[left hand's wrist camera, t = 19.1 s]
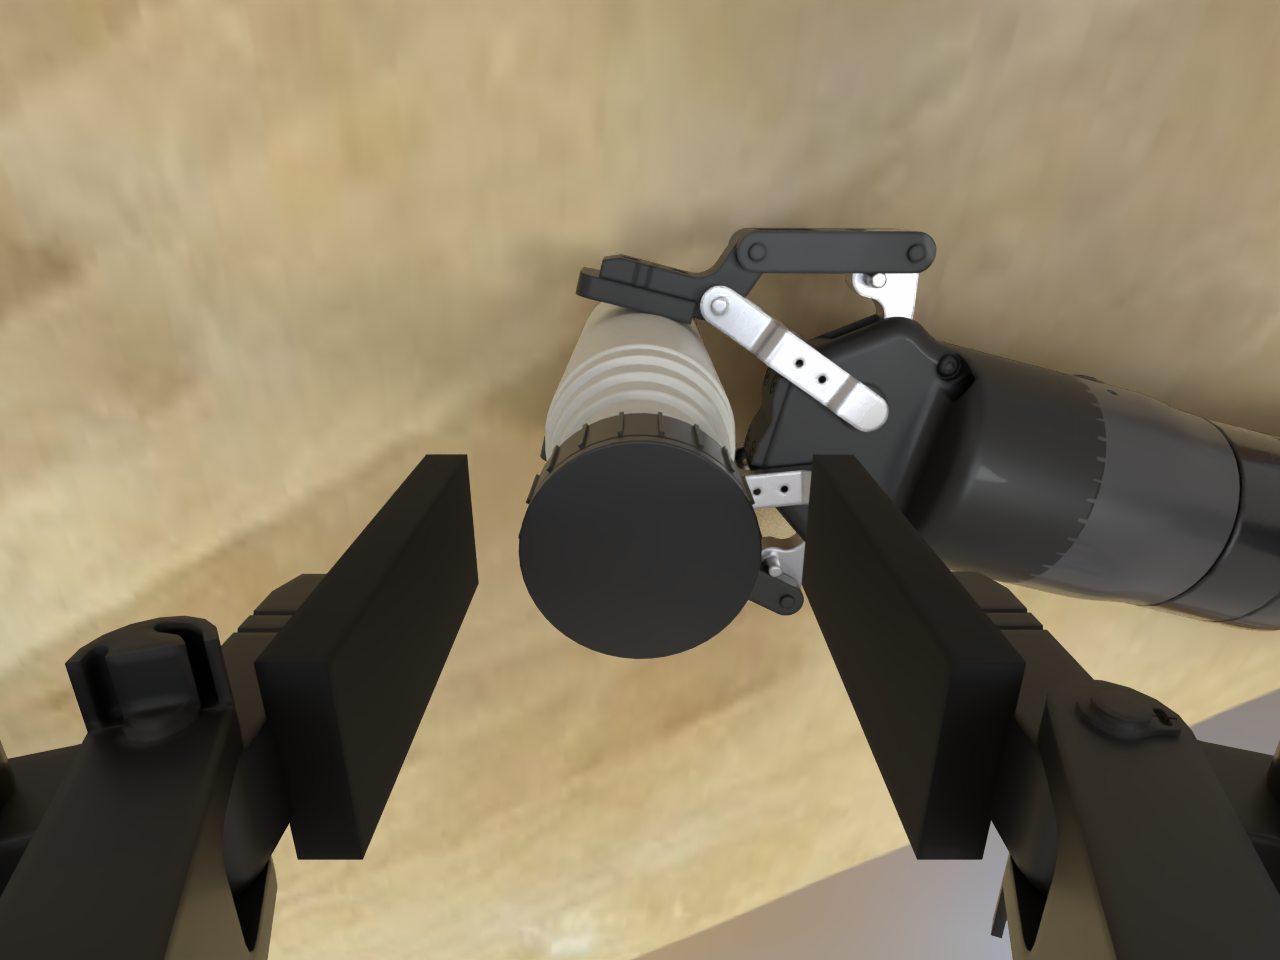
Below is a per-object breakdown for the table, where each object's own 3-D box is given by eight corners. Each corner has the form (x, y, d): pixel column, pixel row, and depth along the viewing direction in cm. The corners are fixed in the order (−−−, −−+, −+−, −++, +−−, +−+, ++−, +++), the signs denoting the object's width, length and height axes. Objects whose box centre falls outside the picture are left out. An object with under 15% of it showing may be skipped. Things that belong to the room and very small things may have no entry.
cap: (544, 390, 13) (530, 417, 12) (773, 429, 14) (792, 460, 12) (517, 594, 15) (502, 642, 13) (725, 625, 15) (735, 676, 14)
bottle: (610, 421, 32) (574, 688, 14) (561, 315, 30) (455, 473, 13) (716, 377, 31) (812, 603, 14) (672, 267, 29) (719, 364, 12)
